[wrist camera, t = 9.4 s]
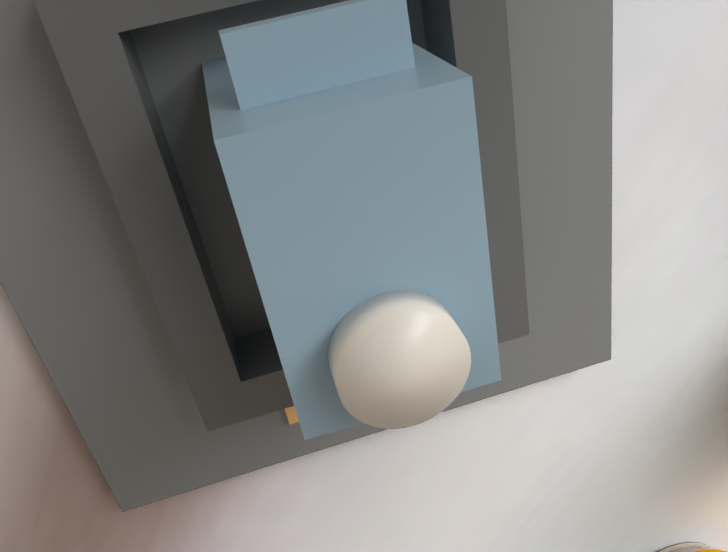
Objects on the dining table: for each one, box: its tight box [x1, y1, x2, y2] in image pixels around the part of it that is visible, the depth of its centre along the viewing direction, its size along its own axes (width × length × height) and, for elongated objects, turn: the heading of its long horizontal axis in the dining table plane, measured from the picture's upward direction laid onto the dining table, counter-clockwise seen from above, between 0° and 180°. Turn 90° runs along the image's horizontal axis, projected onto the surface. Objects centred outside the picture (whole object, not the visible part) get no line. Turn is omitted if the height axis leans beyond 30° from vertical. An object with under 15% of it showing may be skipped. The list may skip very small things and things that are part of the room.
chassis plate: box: [0, 0, 613, 512], centre depth 16 cm, size 16×18×3 cm
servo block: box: [202, 0, 501, 440], centre depth 14 cm, size 4×8×7 cm, turn 11°
